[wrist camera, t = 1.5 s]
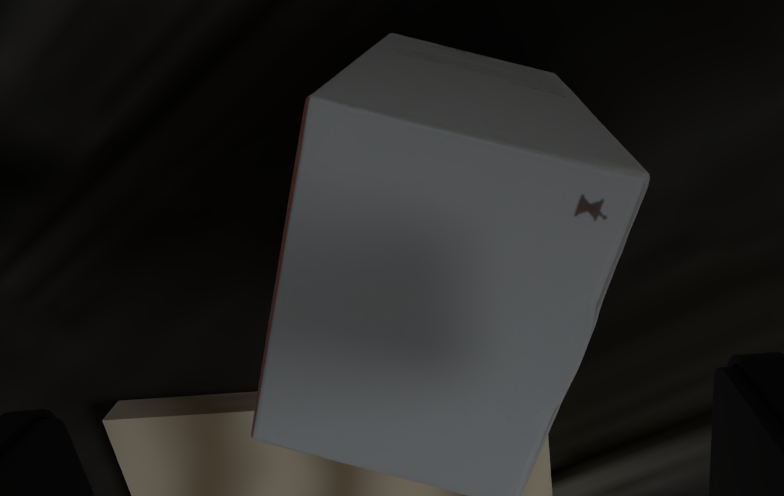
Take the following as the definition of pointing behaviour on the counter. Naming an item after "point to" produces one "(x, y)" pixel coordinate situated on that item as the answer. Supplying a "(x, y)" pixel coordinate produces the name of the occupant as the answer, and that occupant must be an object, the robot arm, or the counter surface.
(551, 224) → the small box
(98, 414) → the counter surface
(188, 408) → the birch board
